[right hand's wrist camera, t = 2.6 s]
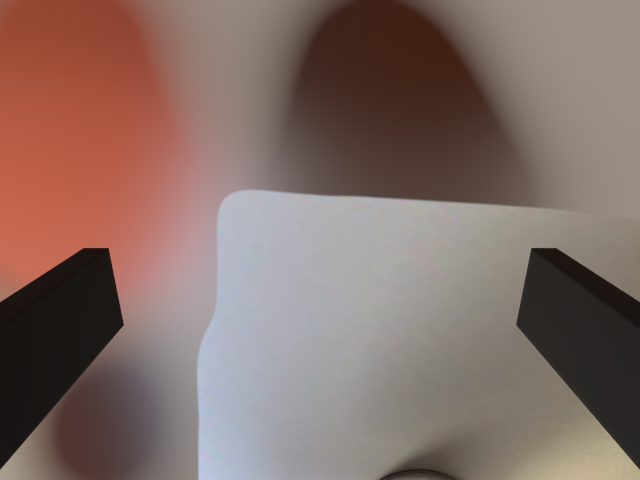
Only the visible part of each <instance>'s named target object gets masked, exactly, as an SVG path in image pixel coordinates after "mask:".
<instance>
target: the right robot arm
mask: <svg viewBox="0 0 640 480" xmlns="http://www.w3.org/2000/svg"><path fill="white" fill-rule="evenodd" d="M123 325H124V324H123V319H122V314H121V309H120V304H119V299H118V294H117V289H116V284H115V278H114V273H113V268H112V263H111V258H110V253H109V249H108V248H83V249H82V250H80V251H79V252H77V253H76V254H74V255H73V256H71V257H70V258H68V259H66V260H65V261H63V262H62V263H60V264H59V265H57V266H56V267H54V268H52V269H51V270H49V271H48V272H46V273H45V274H43V275H42V276H40V277H39V278H37V279H35V280H34V281H32V282H31V283H29V284H28V285H26V286H25V287H23V288H22V289H20V290H19V291H17V292H15V293H14V294H12V295H11V296H9V297H8V298H6V299H5V300H3V301H1V302H0V469H1V468H2V467H3V466H4V465H5V463H6V462H7V461H8V460H9V459H10V458H11V456H12V455H13V454H14V453H15V452H16V450H17V449H18V448H19V447H20V446H21V445H22V444H23V442H24V441H25V440H26V439H27V438H28V436H29V435H30V434H31V433H32V432H33V431H34V429H35V428H36V427H37V426H38V425H39V423H40V422H41V421H42V420H43V419H44V418H45V417H46V415H47V414H48V413H49V412H50V411H51V410H52V408H53V407H54V406H55V405H56V404H57V403H58V401H59V400H60V399H61V398H62V397H63V395H64V394H65V393H66V392H67V391H68V390H69V388H70V387H71V386H72V385H73V384H74V383H75V381H76V380H77V379H78V378H79V377H80V376H81V374H82V373H83V372H84V371H85V370H86V369H87V367H88V366H89V365H90V364H91V363H92V362H93V360H94V359H95V358H96V357H97V356H98V354H99V353H100V352H101V351H102V350H103V349H104V348H105V346H106V345H107V344H108V343H109V342H110V341H111V339H112V338H113V337H114V336H115V335H116V333H117V332H118V331H119V330H120V329H121V328H122V326H123ZM516 325H517V326H518V328H519V329H520V330H521V331H522V332H523V333H524V335H525V336H526V337H527V338H528V339H529V341H530V342H531V343H532V344H533V345H534V346H535V348H536V349H537V350H538V351H539V352H540V353H541V355H542V356H543V357H544V358H545V359H546V360H547V362H548V363H549V364H550V365H551V366H552V367H553V369H554V370H555V371H556V372H557V373H558V374H559V376H560V377H561V378H562V379H563V380H564V381H565V383H566V384H567V385H568V386H569V387H570V388H571V390H572V391H573V392H574V393H575V394H576V396H577V397H578V398H579V399H580V400H581V401H582V403H583V404H584V405H585V406H586V407H587V408H588V410H589V411H590V412H591V413H592V414H593V415H594V417H595V418H596V419H597V420H598V421H599V422H600V424H601V425H602V426H603V427H604V428H605V429H606V431H607V432H608V433H609V434H610V435H611V436H612V438H613V439H614V440H615V441H616V442H617V444H618V445H619V446H620V447H621V448H622V449H623V451H624V452H625V453H626V454H627V455H628V456H629V458H630V459H631V460H632V461H633V462H634V463H635V465H636V466H637V467H638V468H639V469H640V302H639V301H637V300H635V299H634V298H632V297H631V296H629V295H628V294H626V293H625V292H623V291H622V290H620V289H618V288H617V287H615V286H614V285H612V284H611V283H609V282H608V281H606V280H605V279H603V278H601V277H600V276H598V275H597V274H595V273H594V272H592V271H591V270H589V269H588V268H586V267H584V266H583V265H581V264H580V263H578V262H577V261H575V260H574V259H572V258H571V257H569V256H567V255H566V254H564V253H563V252H561V251H560V250H558V249H557V248H531V253H530V258H529V263H528V268H527V273H526V278H525V284H524V289H523V294H522V299H521V304H520V309H519V314H518V319H517V324H516ZM383 480H453V479H452V478H450V477H448V476H446V475H443V474H440V473H437V472H432V471H423V470H416V471H406V472H401V473H397V474H394V475H392V476H389V477H387V478H385V479H383Z"/></svg>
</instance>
